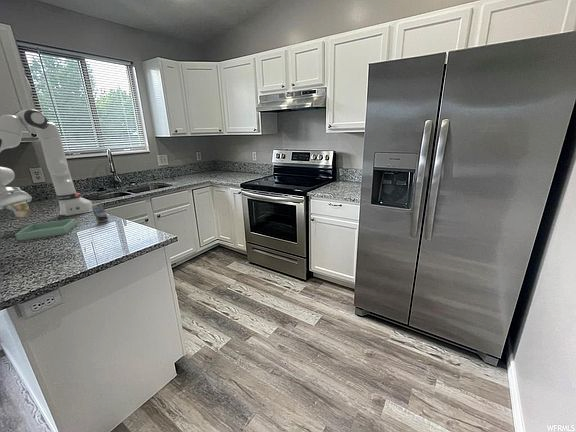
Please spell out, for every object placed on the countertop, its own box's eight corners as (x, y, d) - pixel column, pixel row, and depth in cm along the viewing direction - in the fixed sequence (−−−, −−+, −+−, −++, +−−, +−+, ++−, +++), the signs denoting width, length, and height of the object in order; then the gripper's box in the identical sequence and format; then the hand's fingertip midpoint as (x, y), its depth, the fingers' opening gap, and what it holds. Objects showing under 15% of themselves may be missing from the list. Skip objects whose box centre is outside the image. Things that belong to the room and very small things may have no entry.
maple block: (24, 214, 166) (19, 202, 164) (31, 214, 165) (26, 202, 163) (16, 217, 161) (10, 204, 159) (23, 217, 161) (17, 204, 158)
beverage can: (102, 223, 167) (97, 205, 164) (93, 222, 169) (87, 205, 165) (110, 219, 173) (106, 202, 169) (101, 219, 175) (96, 202, 171)
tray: (77, 224, 167) (75, 218, 166) (66, 233, 151) (63, 227, 150) (34, 230, 160) (31, 224, 159) (17, 240, 144) (14, 234, 143)
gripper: (-17, 194, 149) (4, 210, 151) (21, 186, 168) (40, 201, 170) (-20, 202, 151) (1, 218, 153) (18, 193, 171) (36, 207, 172)
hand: (22, 209), depth 162 cm, fingers closed on maple block, 5 cm apart
